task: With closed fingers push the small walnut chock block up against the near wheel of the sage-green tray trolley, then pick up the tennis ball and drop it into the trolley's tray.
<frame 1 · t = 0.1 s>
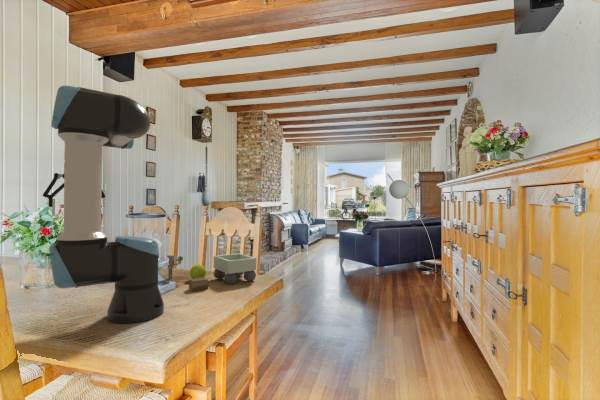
hand: (75, 215, 127), 28 cm above the table, fingers open, 13 cm apart
chock: (198, 289, 124), on the table
trolley: (234, 279, 140), on the table
mechanical component: (170, 279, 141), on the table
tennis ball: (197, 280, 139), on the table
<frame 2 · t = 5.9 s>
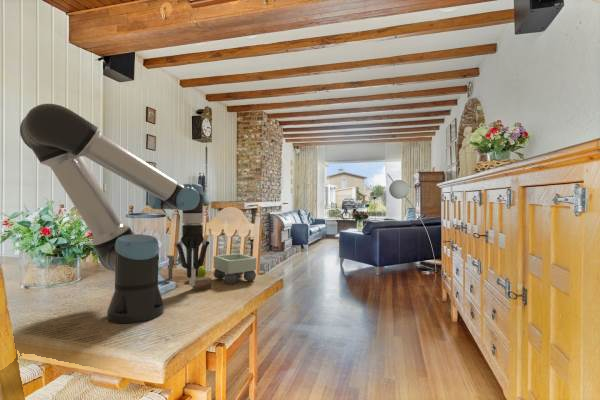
hand: (192, 285, 123), 2 cm above the table, fingers closed
chock: (201, 288, 125), on the table, touching gripper
everything else where it was.
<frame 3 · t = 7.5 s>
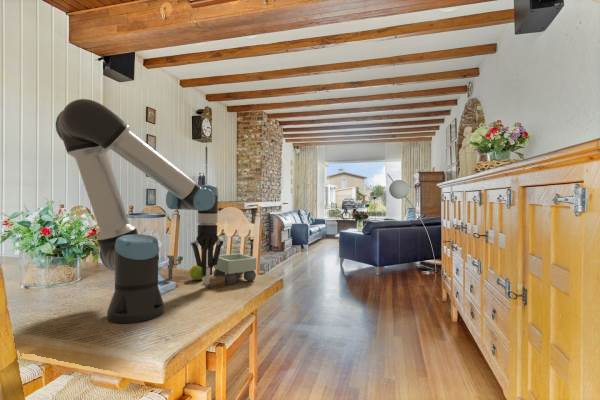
hand: (206, 283, 126), 2 cm above the table, fingers closed
chock: (215, 286, 129), on the table
everything else where it was.
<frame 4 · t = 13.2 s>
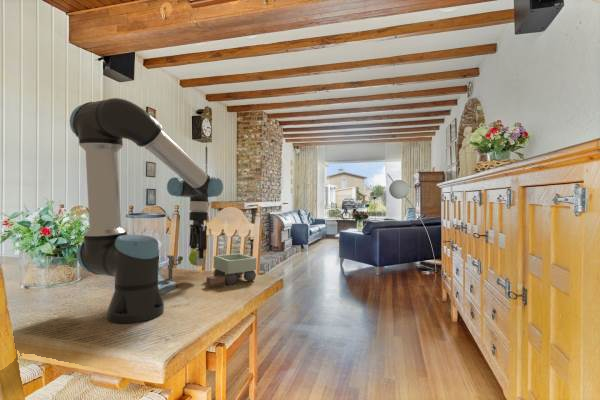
hand: (196, 264, 138), 7 cm above the table, fingers closed on tennis ball, 7 cm apart
tennis ball: (196, 265, 138), point 6 cm above the table, touching gripper
everything else where it was.
when the fingers open (10 cm above the table, at t = 15.8 s): tennis ball drops 4 cm, resting on trolley.
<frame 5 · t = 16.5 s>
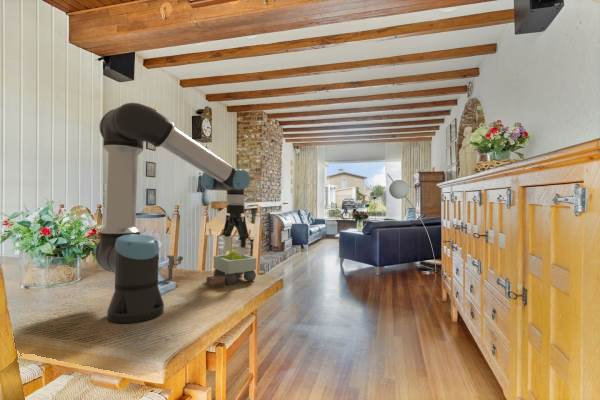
hand: (234, 253, 140), 12 cm above the table, fingers open, 13 cm apart
tennis ball: (234, 266, 140), point 6 cm above the table, touching trolley
everything else where it was.
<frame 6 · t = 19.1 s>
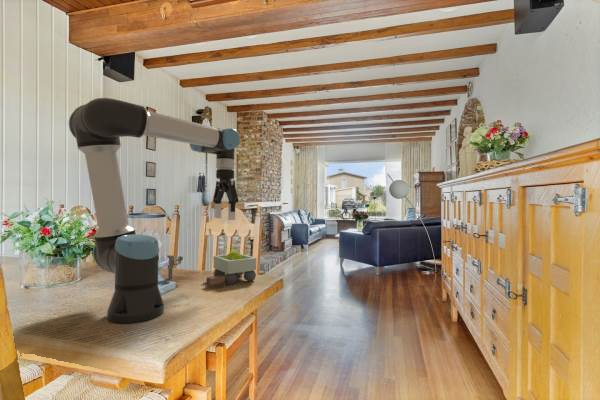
hand: (224, 219, 137), 27 cm above the table, fingers open, 13 cm apart
nothing on the table moved.
at the end: tennis ball inside the target area on the trolley (0.2 cm from its centre), point 5.8 cm above the trolley's base; chock 0.3 cm from the target spot on the table beside the trolley, on the table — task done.
